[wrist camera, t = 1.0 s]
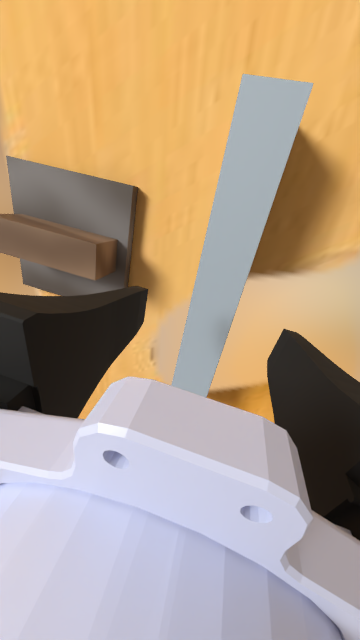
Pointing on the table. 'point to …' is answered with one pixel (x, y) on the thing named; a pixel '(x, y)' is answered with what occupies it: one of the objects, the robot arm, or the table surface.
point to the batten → (238, 218)
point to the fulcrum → (68, 229)
